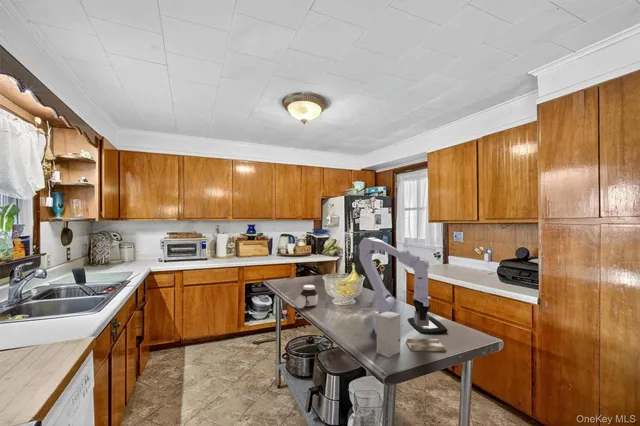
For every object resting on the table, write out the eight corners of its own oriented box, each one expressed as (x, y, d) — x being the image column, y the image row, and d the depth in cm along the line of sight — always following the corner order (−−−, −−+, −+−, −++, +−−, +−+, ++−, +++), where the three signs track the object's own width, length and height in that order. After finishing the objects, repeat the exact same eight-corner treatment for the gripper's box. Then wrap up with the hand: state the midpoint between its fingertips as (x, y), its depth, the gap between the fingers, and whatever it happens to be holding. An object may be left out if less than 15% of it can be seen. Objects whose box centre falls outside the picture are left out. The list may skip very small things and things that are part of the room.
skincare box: (388, 358, 108) (389, 318, 108) (375, 352, 112) (375, 314, 113) (401, 351, 114) (401, 313, 114) (388, 346, 118) (388, 309, 118)
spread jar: (318, 304, 174) (318, 285, 174) (314, 310, 163) (314, 289, 163) (299, 303, 177) (299, 284, 177) (293, 308, 166) (293, 288, 166)
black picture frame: (405, 316, 150) (431, 313, 151) (405, 321, 150) (431, 318, 151) (420, 331, 131) (450, 327, 131) (420, 337, 131) (450, 334, 131)
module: (417, 325, 124) (417, 312, 124) (414, 322, 128) (414, 309, 128) (428, 326, 124) (428, 312, 124) (425, 322, 128) (425, 309, 128)
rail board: (410, 350, 115) (410, 345, 115) (405, 342, 122) (405, 338, 122) (446, 351, 114) (446, 346, 114) (439, 343, 122) (439, 339, 122)
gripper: (436, 291, 119) (436, 324, 119) (425, 283, 133) (425, 312, 133) (418, 290, 119) (418, 324, 119) (409, 282, 134) (409, 312, 133)
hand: (421, 318), depth 126 cm, fingers closed on module, 4 cm apart
